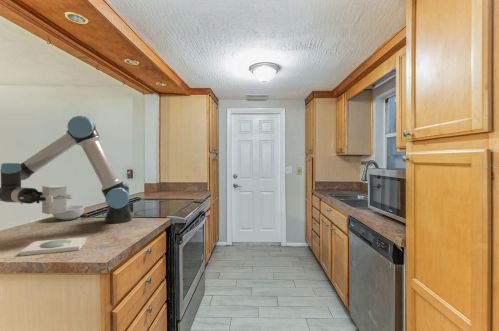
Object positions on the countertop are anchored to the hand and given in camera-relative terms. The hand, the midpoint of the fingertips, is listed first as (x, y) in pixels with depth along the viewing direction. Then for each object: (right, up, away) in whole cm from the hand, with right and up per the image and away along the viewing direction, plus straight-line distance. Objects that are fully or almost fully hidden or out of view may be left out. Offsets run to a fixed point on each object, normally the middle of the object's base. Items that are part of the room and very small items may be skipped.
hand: (62, 197), depth 124 cm
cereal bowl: (-27, -19, +44) cm, 55 cm away
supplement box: (-5, -7, +1) cm, 9 cm away
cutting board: (+4, -20, -9) cm, 23 cm away
